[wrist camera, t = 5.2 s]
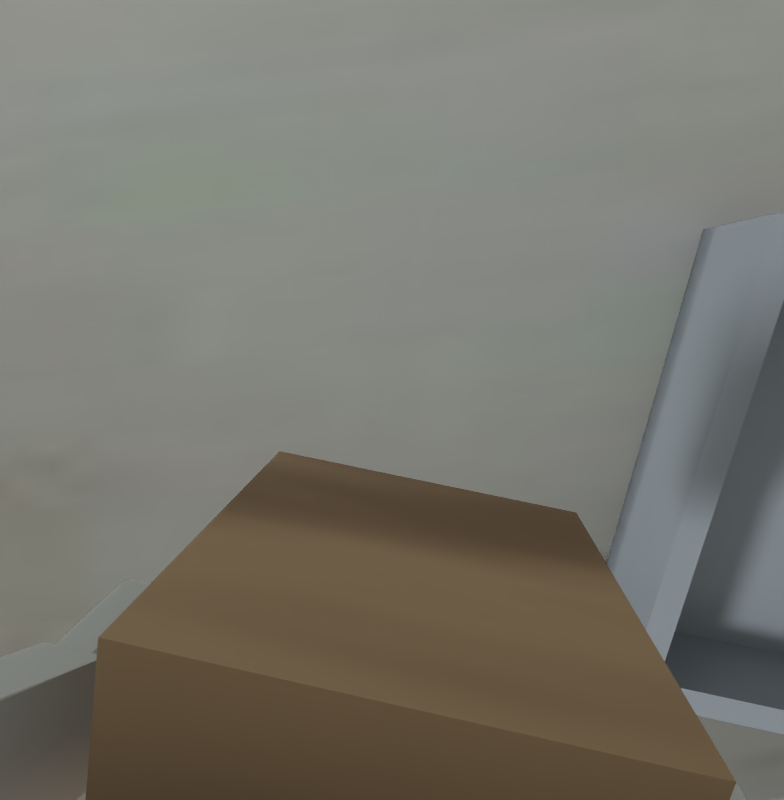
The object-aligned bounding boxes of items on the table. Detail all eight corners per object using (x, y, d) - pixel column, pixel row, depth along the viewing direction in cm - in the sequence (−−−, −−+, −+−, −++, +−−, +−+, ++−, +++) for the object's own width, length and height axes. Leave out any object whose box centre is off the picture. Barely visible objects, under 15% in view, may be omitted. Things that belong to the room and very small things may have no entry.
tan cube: (279, 451, 9) (98, 637, 4) (576, 512, 9) (735, 782, 4) (243, 702, 10) (64, 1076, 5) (506, 762, 10) (569, 1211, 5)
